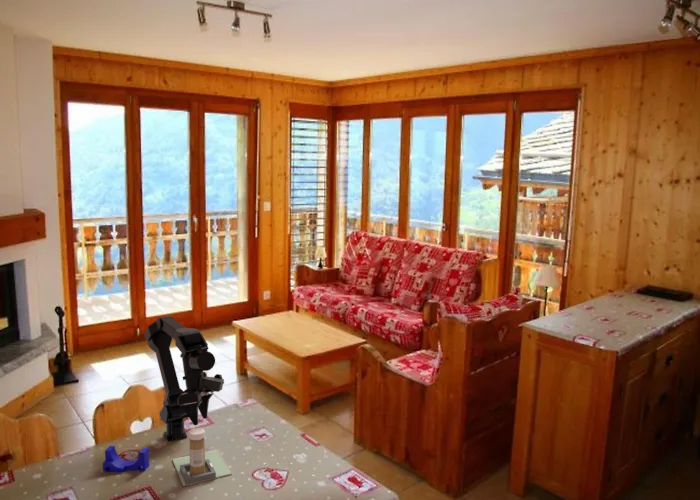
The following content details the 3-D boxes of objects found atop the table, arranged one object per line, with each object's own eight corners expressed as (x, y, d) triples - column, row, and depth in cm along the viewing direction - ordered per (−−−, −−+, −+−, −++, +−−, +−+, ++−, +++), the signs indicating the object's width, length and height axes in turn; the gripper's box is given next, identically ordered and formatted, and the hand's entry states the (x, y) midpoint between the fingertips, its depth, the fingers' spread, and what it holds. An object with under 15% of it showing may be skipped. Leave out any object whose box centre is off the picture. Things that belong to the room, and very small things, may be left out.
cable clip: (103, 472, 165) (102, 453, 164) (110, 464, 170) (109, 445, 169) (142, 474, 165) (142, 455, 164) (149, 466, 169) (148, 447, 168)
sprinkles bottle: (207, 469, 167) (206, 427, 165) (202, 478, 162) (202, 434, 160) (192, 469, 167) (191, 426, 165) (187, 477, 162) (186, 433, 160)
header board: (172, 460, 173) (172, 453, 172) (217, 450, 179) (217, 443, 179) (183, 486, 158) (183, 479, 158) (231, 475, 165) (231, 467, 165)
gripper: (210, 370, 164) (218, 424, 163) (226, 363, 182) (233, 411, 181) (173, 376, 164) (180, 430, 163) (193, 368, 183) (200, 416, 181)
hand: (200, 421), depth 172 cm, fingers open, 9 cm apart
